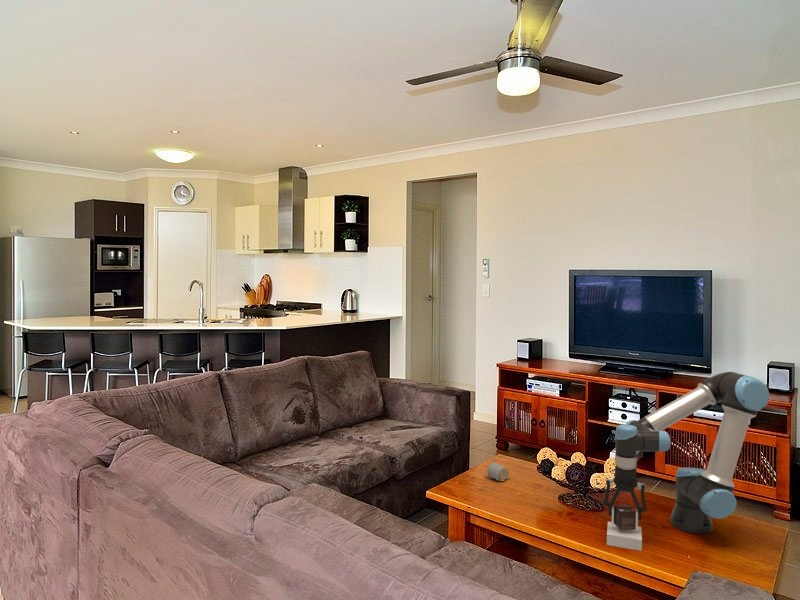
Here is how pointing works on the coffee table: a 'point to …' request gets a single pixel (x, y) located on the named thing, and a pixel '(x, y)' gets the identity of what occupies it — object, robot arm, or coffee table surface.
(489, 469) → the ceramic mug
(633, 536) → the base block
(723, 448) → the robot arm
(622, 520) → the box
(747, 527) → the coffee table surface
